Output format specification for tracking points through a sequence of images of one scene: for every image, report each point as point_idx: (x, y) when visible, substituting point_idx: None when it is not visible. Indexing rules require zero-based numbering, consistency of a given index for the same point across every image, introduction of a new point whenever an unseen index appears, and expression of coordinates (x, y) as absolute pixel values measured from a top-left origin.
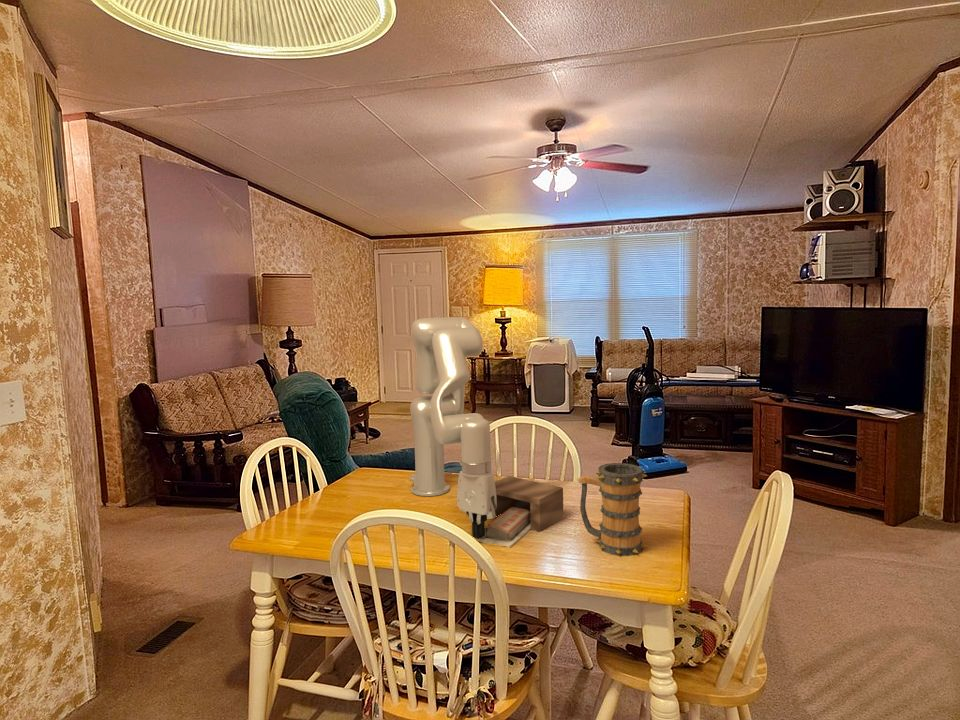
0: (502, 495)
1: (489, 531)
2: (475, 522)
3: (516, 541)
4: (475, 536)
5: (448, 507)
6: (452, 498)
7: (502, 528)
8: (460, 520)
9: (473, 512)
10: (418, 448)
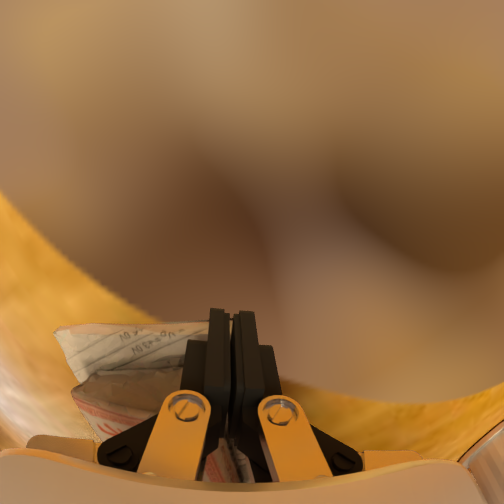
0: None
1: (173, 389)
2: (242, 406)
3: (80, 379)
4: (228, 317)
5: (453, 432)
6: (448, 455)
7: (100, 415)
8: (407, 415)
9: (192, 489)
10: None
